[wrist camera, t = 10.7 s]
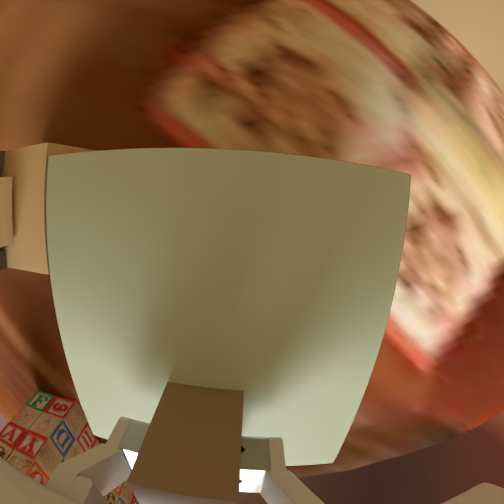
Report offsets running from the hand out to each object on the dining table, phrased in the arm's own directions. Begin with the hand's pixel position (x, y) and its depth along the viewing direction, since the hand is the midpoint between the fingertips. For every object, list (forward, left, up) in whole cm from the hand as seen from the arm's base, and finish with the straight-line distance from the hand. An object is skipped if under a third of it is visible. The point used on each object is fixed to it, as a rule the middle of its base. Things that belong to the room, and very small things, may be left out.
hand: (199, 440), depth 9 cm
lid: (0, -3, -3) cm, 4 cm away
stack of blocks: (+16, +22, -10) cm, 29 cm away
